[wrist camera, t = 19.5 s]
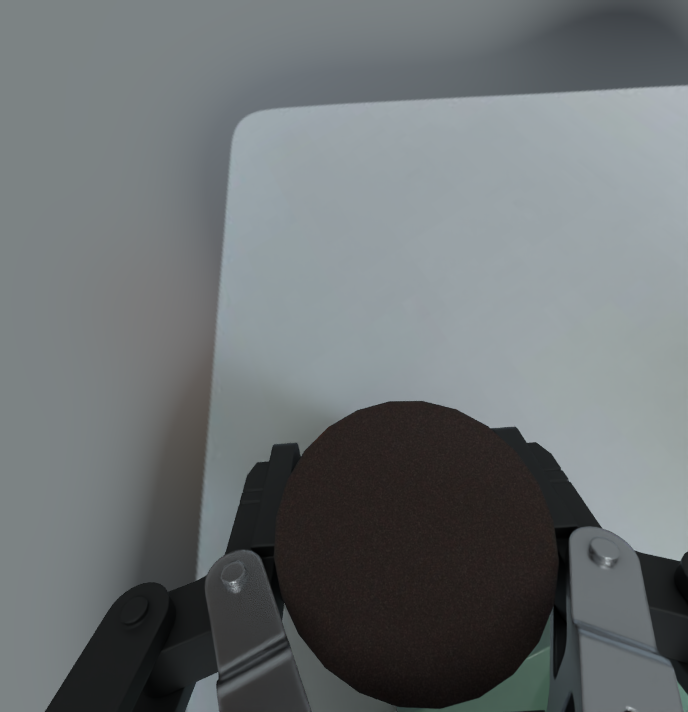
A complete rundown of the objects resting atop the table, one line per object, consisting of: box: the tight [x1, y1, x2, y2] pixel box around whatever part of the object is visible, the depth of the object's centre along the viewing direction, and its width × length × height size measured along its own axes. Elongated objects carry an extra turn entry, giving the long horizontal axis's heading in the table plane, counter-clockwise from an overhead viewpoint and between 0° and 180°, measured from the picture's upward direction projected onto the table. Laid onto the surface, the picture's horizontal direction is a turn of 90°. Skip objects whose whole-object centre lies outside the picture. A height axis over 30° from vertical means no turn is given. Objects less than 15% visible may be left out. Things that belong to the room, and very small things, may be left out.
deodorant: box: [274, 401, 559, 709], centre depth 15 cm, size 6×6×15 cm
